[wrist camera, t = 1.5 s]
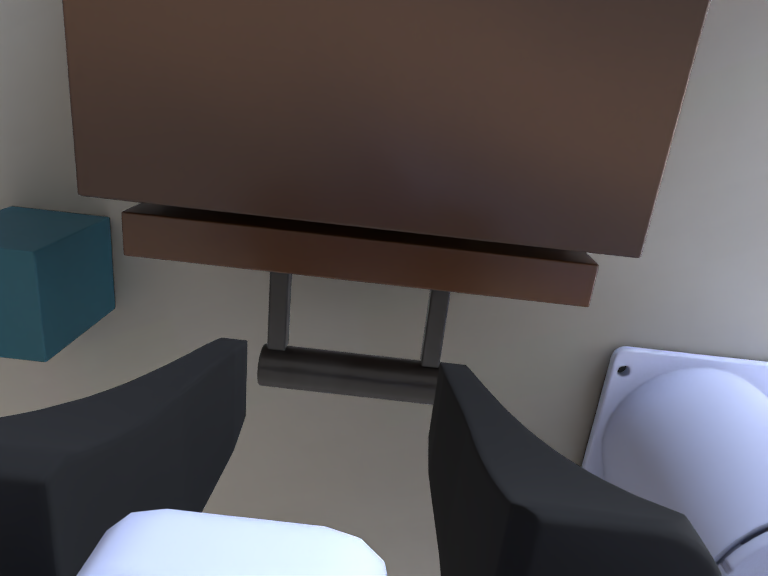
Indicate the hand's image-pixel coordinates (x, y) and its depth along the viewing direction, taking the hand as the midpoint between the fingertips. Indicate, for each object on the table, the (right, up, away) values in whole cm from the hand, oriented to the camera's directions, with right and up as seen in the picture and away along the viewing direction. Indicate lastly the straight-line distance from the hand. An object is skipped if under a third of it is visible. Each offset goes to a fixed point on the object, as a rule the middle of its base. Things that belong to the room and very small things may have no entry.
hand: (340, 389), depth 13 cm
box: (-12, +4, +10) cm, 16 cm away
